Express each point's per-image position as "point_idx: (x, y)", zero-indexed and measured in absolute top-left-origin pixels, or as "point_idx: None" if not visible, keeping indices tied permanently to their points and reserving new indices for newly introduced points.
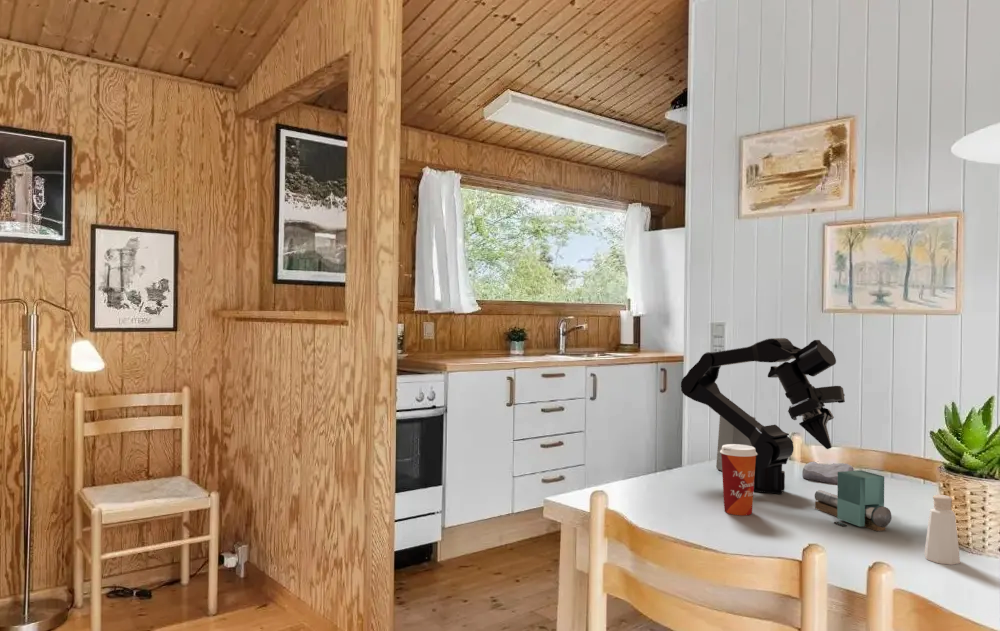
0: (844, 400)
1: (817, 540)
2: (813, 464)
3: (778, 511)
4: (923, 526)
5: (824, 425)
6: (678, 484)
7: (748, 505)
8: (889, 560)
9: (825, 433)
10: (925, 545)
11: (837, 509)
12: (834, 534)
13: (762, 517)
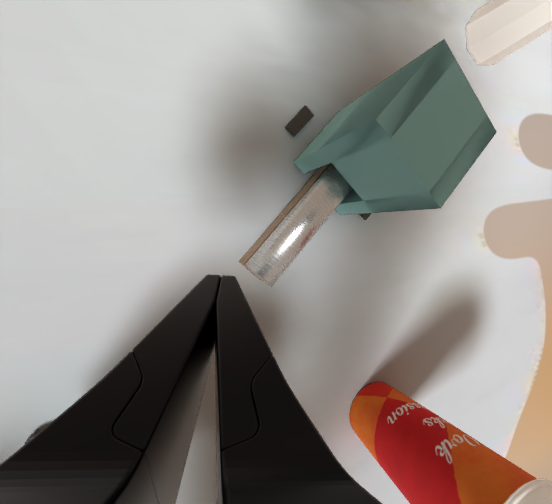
0: None
1: (469, 234)
2: None
3: (327, 344)
4: (289, 12)
5: (222, 438)
6: None
7: (402, 393)
8: (510, 125)
9: (267, 353)
10: (498, 53)
11: (353, 213)
12: (430, 211)
13: (386, 355)
